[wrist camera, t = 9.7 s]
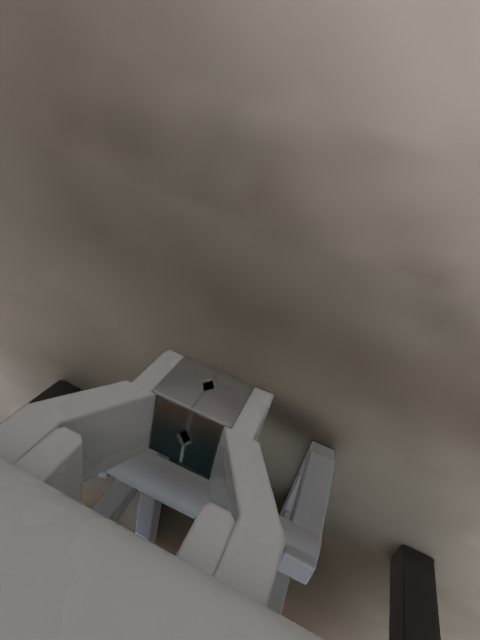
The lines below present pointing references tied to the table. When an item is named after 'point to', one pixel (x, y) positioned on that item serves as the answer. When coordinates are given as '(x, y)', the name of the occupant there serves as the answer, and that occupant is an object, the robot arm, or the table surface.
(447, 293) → the table surface
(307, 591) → the table surface
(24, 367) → the table surface
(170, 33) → the table surface
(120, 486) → the chair
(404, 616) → the desk
